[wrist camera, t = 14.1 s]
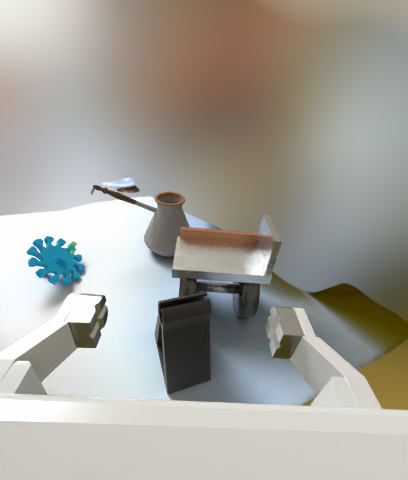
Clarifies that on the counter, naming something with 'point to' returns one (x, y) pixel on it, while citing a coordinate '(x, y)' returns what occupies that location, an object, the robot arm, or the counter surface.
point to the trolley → (227, 262)
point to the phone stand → (184, 340)
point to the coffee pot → (160, 220)
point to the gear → (56, 260)
